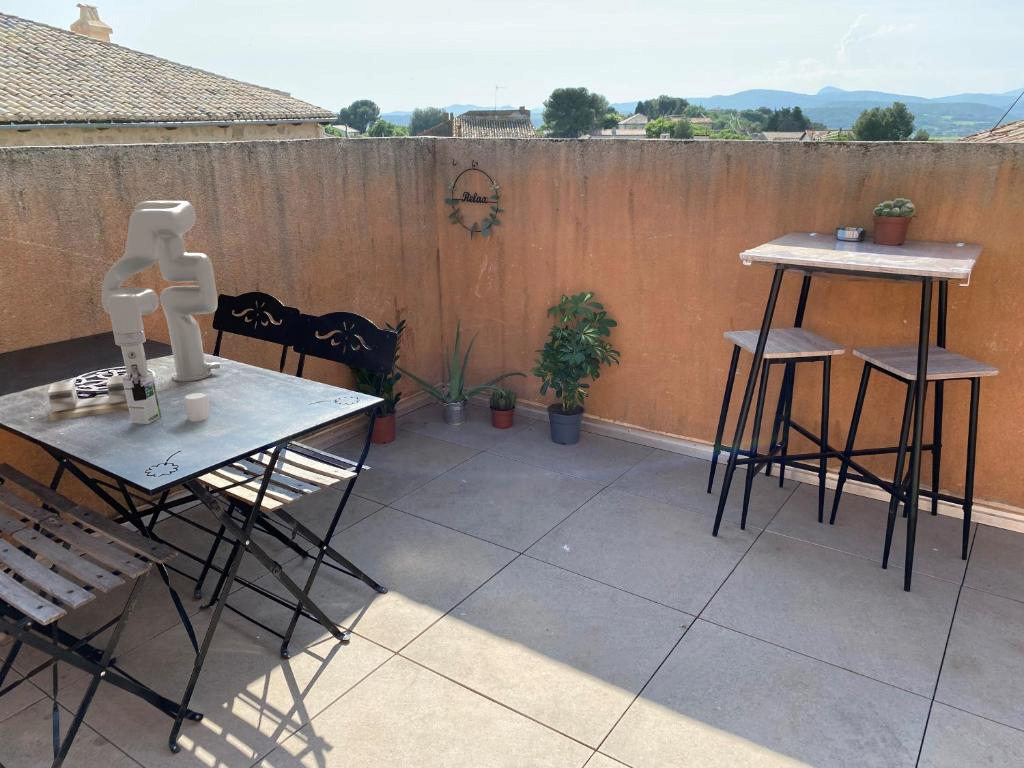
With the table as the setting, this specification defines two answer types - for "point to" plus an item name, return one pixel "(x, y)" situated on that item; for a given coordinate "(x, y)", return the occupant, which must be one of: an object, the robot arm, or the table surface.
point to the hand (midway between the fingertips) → (140, 395)
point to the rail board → (85, 400)
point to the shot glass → (197, 406)
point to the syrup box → (142, 401)
